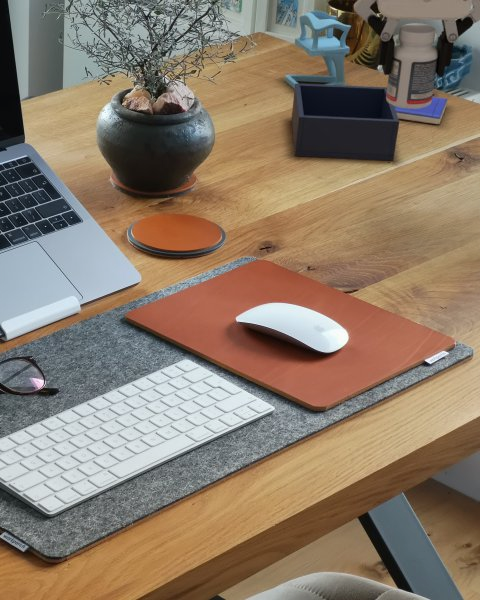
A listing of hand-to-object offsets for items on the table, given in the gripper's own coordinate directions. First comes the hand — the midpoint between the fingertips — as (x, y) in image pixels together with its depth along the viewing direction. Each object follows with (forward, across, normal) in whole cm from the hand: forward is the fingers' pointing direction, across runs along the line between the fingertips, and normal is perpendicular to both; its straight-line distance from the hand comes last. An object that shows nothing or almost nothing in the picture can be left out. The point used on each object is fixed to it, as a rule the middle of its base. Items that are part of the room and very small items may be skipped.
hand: (412, 70), depth 130 cm
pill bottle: (+4, 0, 0) cm, 4 cm away
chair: (+19, -7, +45) cm, 49 cm away
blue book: (+19, +5, +36) cm, 41 cm away
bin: (+18, -5, +23) cm, 30 cm away
